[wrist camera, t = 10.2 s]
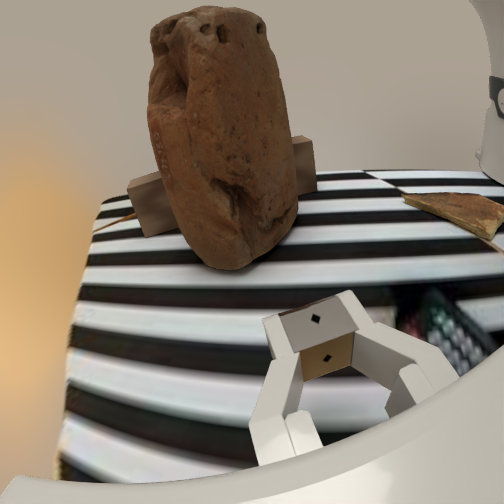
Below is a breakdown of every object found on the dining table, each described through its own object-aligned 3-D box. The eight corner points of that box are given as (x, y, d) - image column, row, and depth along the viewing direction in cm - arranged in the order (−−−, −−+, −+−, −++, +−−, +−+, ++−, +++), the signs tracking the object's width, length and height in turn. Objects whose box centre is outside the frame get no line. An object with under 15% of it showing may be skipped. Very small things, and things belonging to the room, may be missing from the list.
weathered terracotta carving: (245, 207, 33) (205, 26, 22) (309, 215, 29) (276, 6, 18) (180, 266, 26) (108, 36, 15) (252, 287, 22) (183, -7, 11)
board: (307, 182, 36) (301, 135, 32) (317, 190, 33) (312, 140, 30) (147, 225, 34) (130, 180, 31) (145, 237, 32) (126, 189, 28)
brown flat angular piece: (400, 206, 28) (401, 190, 27) (432, 185, 31) (433, 172, 30) (488, 248, 20) (492, 231, 19) (507, 218, 23) (510, 204, 22)
